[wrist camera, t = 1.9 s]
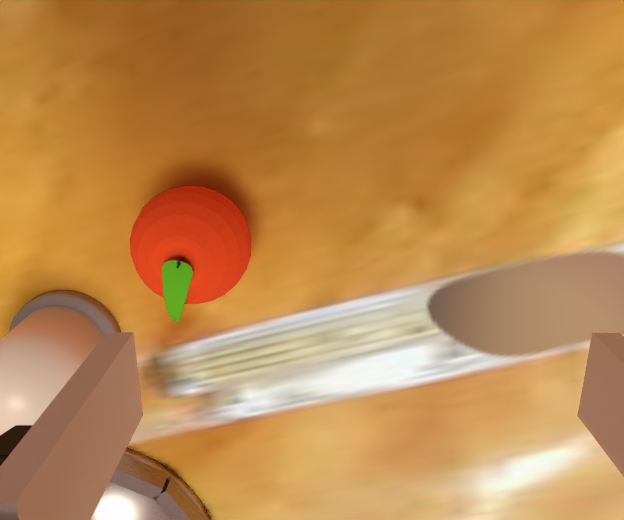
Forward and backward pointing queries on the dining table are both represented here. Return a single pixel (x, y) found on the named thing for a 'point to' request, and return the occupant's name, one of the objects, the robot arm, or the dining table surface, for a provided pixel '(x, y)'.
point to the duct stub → (47, 351)
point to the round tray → (147, 493)
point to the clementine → (190, 246)
